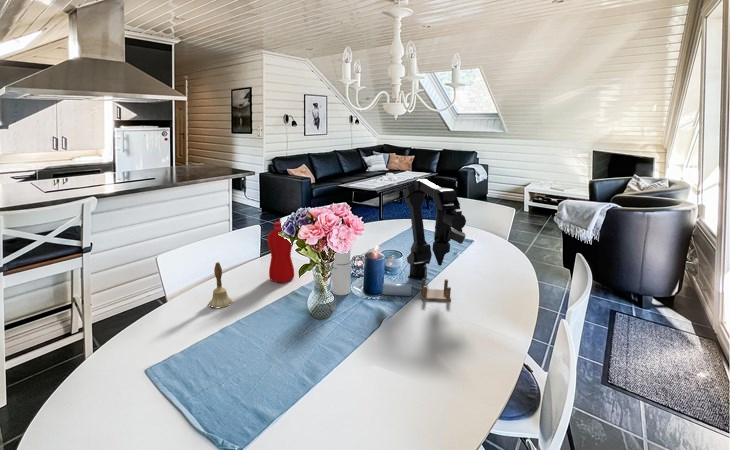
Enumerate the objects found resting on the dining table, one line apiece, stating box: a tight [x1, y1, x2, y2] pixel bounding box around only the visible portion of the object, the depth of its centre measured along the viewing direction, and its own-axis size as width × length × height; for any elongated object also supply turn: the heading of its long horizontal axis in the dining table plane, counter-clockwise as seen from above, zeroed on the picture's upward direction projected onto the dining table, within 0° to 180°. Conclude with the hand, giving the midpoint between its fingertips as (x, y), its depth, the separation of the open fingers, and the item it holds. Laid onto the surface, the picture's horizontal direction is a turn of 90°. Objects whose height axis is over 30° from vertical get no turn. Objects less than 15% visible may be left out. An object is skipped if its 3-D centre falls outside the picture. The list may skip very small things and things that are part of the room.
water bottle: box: [266, 221, 295, 284], centre depth 161 cm, size 9×11×25 cm
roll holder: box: [420, 278, 452, 302], centre depth 150 cm, size 11×8×6 cm
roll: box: [382, 283, 412, 297], centre depth 151 cm, size 11×4×4 cm, turn 87°
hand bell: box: [208, 261, 233, 308], centre depth 140 cm, size 8×8×16 cm
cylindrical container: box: [331, 248, 352, 296], centre depth 150 cm, size 7×7×25 cm
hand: (440, 261), depth 149 cm, fingers open, 9 cm apart
